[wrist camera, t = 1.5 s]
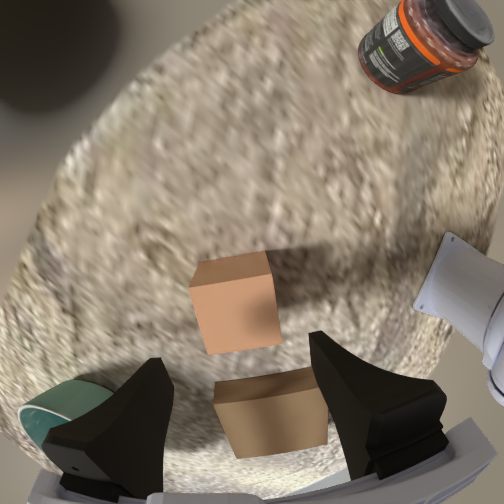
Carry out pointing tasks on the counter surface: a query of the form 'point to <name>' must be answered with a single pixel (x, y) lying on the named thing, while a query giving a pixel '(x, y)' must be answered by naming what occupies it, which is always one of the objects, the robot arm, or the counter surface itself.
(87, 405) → the bowl
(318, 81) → the counter surface
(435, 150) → the counter surface
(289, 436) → the walnut block
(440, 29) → the supplement bottle
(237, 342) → the terracotta cube
